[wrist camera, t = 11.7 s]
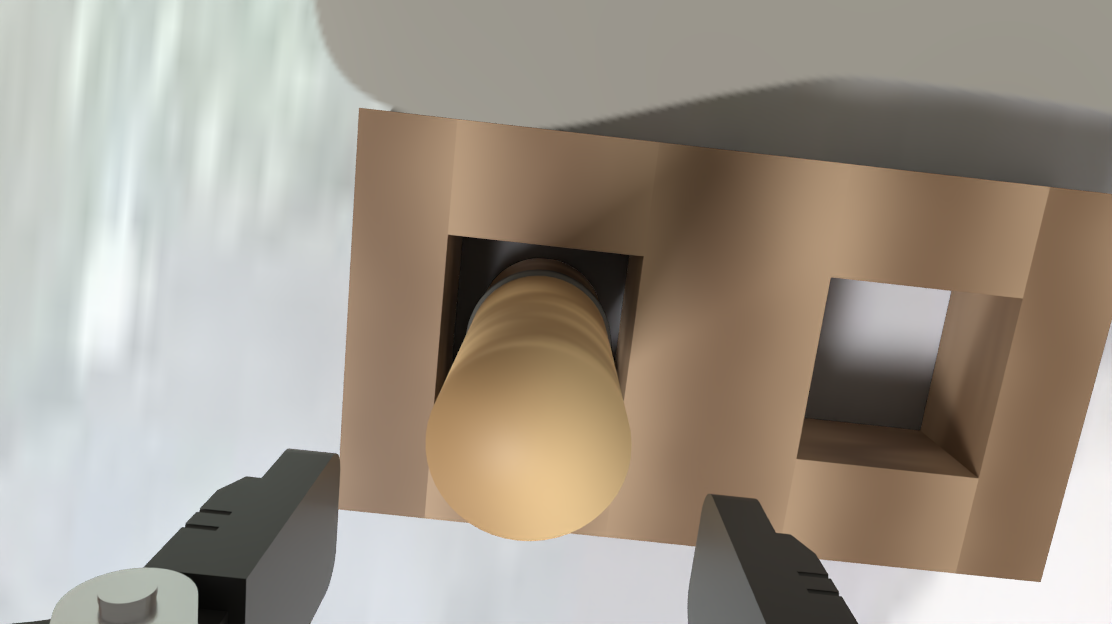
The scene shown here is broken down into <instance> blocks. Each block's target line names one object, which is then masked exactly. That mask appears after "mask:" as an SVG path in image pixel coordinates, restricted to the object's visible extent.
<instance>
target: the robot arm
mask: <svg viewBox="0 0 1112 624" xmlns="http://www.w3.org/2000/svg"><path fill="white" fill-rule="evenodd" d="M339 487H340V459H339V455H338V454H335V453H326V452H317V451H307V450H298V449H287V450H286V451H285V452H284V453H283V454H282V455H281V456H280V457H279V459H278V460H277V461H276V462H275V463H274V464H273V466H272V467H271V468H270V469H269V470H268V471H267V472H266V474H265V475H264V476H263V477H262V478H256V477H244V478H242V479H240V480H238V481H236V482H234V483H232V484H230V485H227V486H225V487H223V488H221V489H219V490H217V491H216V492H215V493H214V494H213V495H212V496H211V498H210V499H209V500H208V501H207V502H206V503H205V504H204V505H203V506H202V507H201V508H200V511H199V512H196V513H195V514H194V515H193V516H192V517H191V518H190V519H189V520H188V521H187V523H186V525H185V528H184V527H182V528H181V529H180V530H179V531H178V532H177V533H176V534H175V535H174V536H173V537H172V538H171V539H170V540H169V541H168V542H167V543H166V544H165V545H164V547H163V548H162V549H161V550H160V551H159V552H158V553H157V554H156V555H155V556H154V557H153V558H152V559H151V560H150V561H149V562H148V563H147V564H146V565H145V566H144V567H143V568H132V569H125V570H119V571H115V572H111V573H107V574H104V575H101V576H97V577H95V578H93V579H90V580H88V581H86V582H84V583H82V584H80V585H78V586H76V587H75V588H73V589H72V590H70V591H69V592H68V593H66V594H65V595H64V596H63V597H62V598H61V599H60V600H59V602H58V603H57V604H56V606H55V608H54V610H53V613H52V617H51V619H49V620H42V621H34V622H24V623H14V624H310V623H311V621H312V619H313V617H314V615H315V613H316V611H317V609H318V607H319V605H320V603H321V601H322V599H323V598H324V596H325V594H326V591H327V589H328V586H329V583H330V580H331V576H332V572H333V567H334V561H335V554H336V540H337V522H338V505H339ZM688 624H858V622H857V621H856V619H855V618H854V616H853V614H852V613H851V611H850V609H849V608H848V606H847V604H846V603H845V601H844V600H843V598H842V596H839V591H838V590H837V588H836V586H835V585H834V583H833V582H832V580H831V579H828V573H827V572H826V570H825V568H824V567H823V565H822V564H821V562H820V560H819V559H818V557H817V555H816V554H815V553H814V552H813V551H811V550H810V549H809V548H808V547H806V546H805V545H804V544H802V543H801V542H800V541H799V540H797V539H796V538H795V537H794V536H792V535H791V534H783V533H776V532H775V530H774V528H773V526H772V524H771V523H770V521H769V519H768V517H767V515H766V513H765V512H764V510H763V508H762V506H761V504H760V502H759V501H758V500H757V499H755V498H745V497H736V496H726V495H717V494H707V496H706V497H705V500H704V503H703V506H702V511H701V517H700V523H699V529H698V535H697V541H696V547H695V553H694V559H693V565H692V572H691V578H690V584H689V591H688Z"/></svg>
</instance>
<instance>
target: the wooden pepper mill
mask: <svg viewBox="0 0 1112 624" xmlns="http://www.w3.org/2000/svg"><path fill="white" fill-rule="evenodd" d="M631 447H632V444H631V431H630V427H629V422H628V417H627V413H626V409H625V405H624V401H623V397H622V393H621V389H620V384H619V380H618V376H617V372H616V368H615V364H614V360H613V356H612V351H611V335H610V329H609V324H608V321H607V318H606V315H605V312H604V310H603V308H602V306H601V304H600V302H599V299H598V296H597V294H596V292H595V290H594V288H593V287H592V285H591V284H590V282H589V281H588V280H587V279H586V278H585V277H584V275H582V274H581V273H580V272H579V271H578V270H576V269H575V268H573V267H572V266H570V265H568V264H565V263H563V262H560V261H557V260H553V259H546V258H536V259H528V260H524V261H521V262H518V263H516V264H514V265H512V266H510V267H508V268H507V269H505V270H504V271H502V272H501V273H500V274H499V275H498V276H497V277H496V278H495V279H494V280H493V281H492V283H491V284H490V286H489V287H488V289H487V291H486V292H485V294H484V295H483V296H482V297H481V298H480V300H479V302H478V303H477V305H476V307H475V309H474V311H473V313H472V315H471V317H470V320H469V323H468V327H467V333H466V336H465V339H464V341H463V343H462V345H461V347H460V350H459V352H458V354H457V356H456V358H455V360H454V363H453V365H452V367H451V369H450V371H449V373H448V376H447V378H446V380H445V382H444V384H443V387H442V389H441V391H440V393H439V395H438V397H437V400H436V402H435V404H434V406H433V408H432V411H431V414H430V417H429V420H428V424H427V430H426V456H427V462H428V466H429V470H430V473H431V476H432V478H433V481H434V483H435V485H436V487H437V489H438V490H439V492H440V494H441V495H442V497H443V498H444V499H445V501H446V502H447V503H448V504H449V506H450V507H451V508H452V509H453V510H454V511H455V512H456V513H457V514H458V515H459V516H461V517H462V518H463V519H465V520H466V521H467V522H469V523H470V524H472V525H474V526H475V527H477V528H479V529H481V530H483V531H485V532H487V533H490V534H492V535H495V536H499V537H502V538H506V539H512V540H520V541H538V540H547V539H552V538H557V537H560V536H563V535H566V534H569V533H571V532H573V531H576V530H578V529H580V528H582V527H583V526H585V525H587V524H588V523H590V522H591V521H593V520H594V519H595V518H596V517H597V516H599V515H600V514H601V513H602V512H603V511H604V510H605V509H606V508H607V507H608V506H609V505H610V504H611V502H612V501H613V499H614V498H615V497H616V495H617V494H618V492H619V490H620V488H621V486H622V484H623V483H624V480H625V477H626V475H627V472H628V468H629V464H630V459H631Z"/></svg>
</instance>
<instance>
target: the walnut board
mask: <svg viewBox="0 0 1112 624" xmlns="http://www.w3.org/2000/svg"><path fill="white" fill-rule="evenodd" d="M463 236H465V237H474V238H483V239H492V240H501V241H510V242H519V243H528V244H537V245H546V246H555V247H564V248H573V249H582V250H591V251H600V252H609V253H618V254H627V255H629V260H628V267H627V275H626V282H625V290H624V297H623V305H622V312H621V320H620V327H619V335H618V342H617V350H616V357H615V368H616V372H617V376H618V380H619V384H620V389H621V393H622V397H623V401H624V405H625V409H626V413H627V417H628V422H629V427H630V431H631V444H632V447H631V459H630V464H629V468H628V472H627V475H626V477H625V480H624V483H623V484H622V486H621V488H620V490H619V492H618V494H617V495H616V497H615V498H614V499H613V501H612V502H611V504H610V505H609V506H608V507H607V508H606V509H605V510H604V511H603V512H602V513H601V514H600V515H599V516H597V517H596V518H595V519H594V520H593V521H591V522H590V523H588V524H587V525H585V526H583V527H582V528H580V529H578V530H576V531H573V532H571V533H572V534H582V535H591V536H601V537H611V538H620V539H630V540H639V541H649V542H659V543H668V544H678V545H688V546H696V541H697V535H698V529H699V523H700V517H701V511H702V506H703V503H704V500H705V497H706V496H707V494H717V495H726V496H736V497H745V498H755V499H757V500H758V501H759V502H760V504H761V506H762V508H763V510H764V512H765V513H766V515H767V517H768V519H769V521H770V523H771V524H772V526H773V528H774V530H775V532H776V533H783V534H791V535H792V536H794V537H795V538H796V539H797V540H799V541H800V542H801V543H802V544H804V545H805V546H806V547H808V548H809V549H810V550H811V551H813V552H814V553H815V554H816V555H817V557H818V559H823V560H832V561H842V562H851V563H861V564H871V565H880V566H890V567H900V568H909V569H919V570H929V571H938V572H948V573H957V574H967V575H977V576H986V577H996V578H1006V579H1015V580H1025V581H1035V582H1041V578H1042V575H1043V571H1044V567H1045V564H1046V560H1047V556H1048V553H1049V549H1050V545H1051V541H1052V538H1053V534H1054V530H1055V527H1056V523H1057V519H1058V516H1059V512H1060V508H1061V505H1062V501H1063V497H1064V494H1065V490H1066V486H1067V483H1068V479H1069V475H1070V472H1071V468H1072V464H1073V460H1074V457H1075V453H1076V449H1077V446H1078V442H1079V438H1080V435H1081V431H1082V427H1083V424H1084V420H1085V416H1086V413H1087V409H1088V405H1089V402H1090V398H1091V394H1092V391H1093V387H1094V383H1095V379H1096V376H1097V372H1098V368H1099V365H1100V361H1101V357H1102V354H1103V350H1104V346H1105V343H1106V339H1107V335H1108V332H1109V328H1110V324H1111V321H1112V194H1107V193H1099V192H1090V191H1081V190H1072V189H1064V188H1055V187H1046V186H1037V185H1029V184H1020V183H1011V182H1002V181H994V180H985V179H976V178H968V177H959V176H950V175H941V174H933V173H924V172H915V171H906V170H898V169H889V168H880V167H871V166H863V165H854V164H845V163H836V162H828V161H819V160H810V159H802V158H793V157H784V156H775V155H767V154H758V153H749V152H740V151H732V150H723V149H714V148H705V147H697V146H688V145H679V144H670V143H662V142H653V141H644V140H635V139H627V138H618V137H609V136H601V135H592V134H583V133H574V132H566V131H557V130H548V129H539V128H531V127H522V126H513V125H503V124H495V123H487V122H478V121H469V120H460V119H451V118H443V117H435V116H425V115H417V114H408V113H400V112H391V111H382V110H373V109H365V108H359V119H358V137H357V155H356V173H355V191H354V209H353V227H352V245H351V263H350V281H349V299H348V317H347V335H346V353H345V371H344V389H343V407H342V425H341V443H340V487H339V505H338V509H341V510H350V511H360V512H370V513H379V514H389V515H399V516H408V517H418V518H427V519H437V520H447V521H456V522H466V523H469V522H467V521H466V520H465V519H463V518H462V517H461V516H459V515H458V514H457V513H456V512H455V511H454V510H453V509H452V508H451V507H450V506H449V504H448V503H447V502H446V501H445V499H444V498H443V497H442V495H441V494H440V492H439V490H438V489H437V487H436V485H435V483H434V481H433V478H432V476H431V473H430V470H429V466H428V462H427V456H426V430H427V424H428V420H429V417H430V414H431V411H432V408H433V406H434V404H435V402H436V400H437V397H438V395H439V393H440V391H441V389H442V387H443V384H444V382H445V380H446V378H447V376H448V373H449V371H450V369H451V367H452V356H453V344H454V333H455V321H456V309H457V298H458V286H459V275H460V263H461V251H462V240H463ZM831 277H833V278H842V279H851V280H860V281H869V282H878V283H887V284H896V285H905V286H914V287H923V288H932V289H941V290H950V291H951V296H950V300H949V305H948V309H947V314H946V318H945V322H944V327H943V331H942V336H941V340H940V345H939V349H938V354H937V358H936V363H935V367H934V371H933V376H932V380H931V385H930V389H929V394H928V398H927V403H926V407H925V412H924V416H923V420H922V425H921V429H920V430H912V429H902V428H893V427H884V426H874V425H865V424H856V423H846V422H837V421H828V420H818V419H809V418H804V416H805V411H806V405H807V400H808V395H809V390H810V384H811V379H812V374H813V368H814V363H815V358H816V353H817V347H818V342H819V337H820V332H821V326H822V321H823V316H824V311H825V305H826V300H827V295H828V290H829V284H830V279H831Z"/></svg>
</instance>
